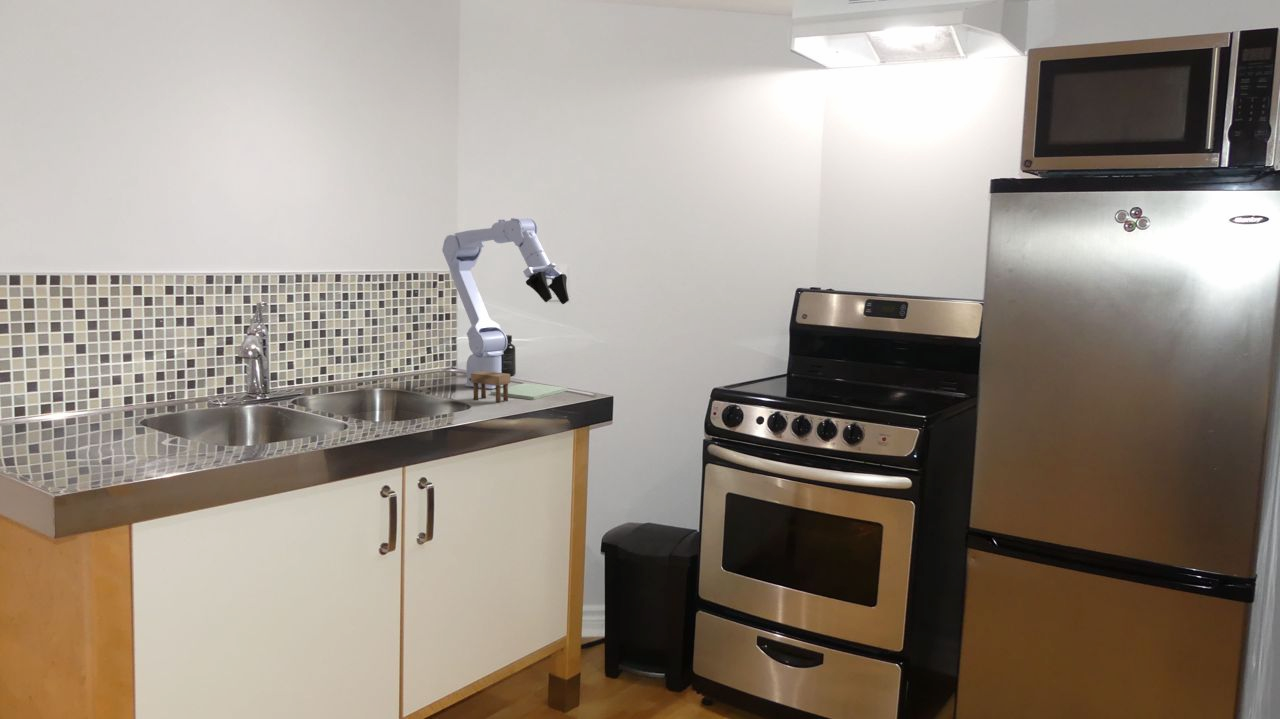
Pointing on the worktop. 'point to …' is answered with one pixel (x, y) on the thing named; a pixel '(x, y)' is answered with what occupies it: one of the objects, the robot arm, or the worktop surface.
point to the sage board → (531, 391)
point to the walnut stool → (490, 383)
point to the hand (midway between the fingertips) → (557, 301)
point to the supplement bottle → (508, 358)
